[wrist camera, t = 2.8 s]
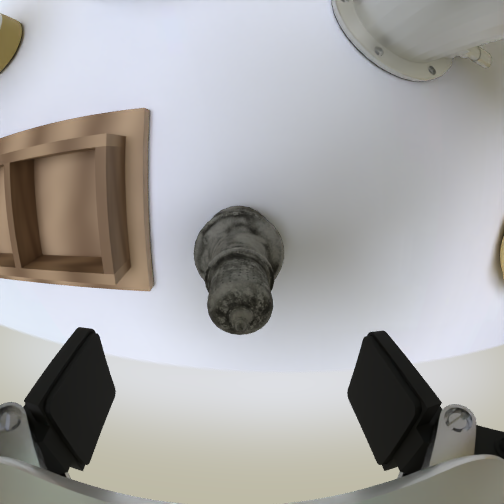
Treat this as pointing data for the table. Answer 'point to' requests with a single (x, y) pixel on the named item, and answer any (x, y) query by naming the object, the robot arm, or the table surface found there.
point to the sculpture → (502, 256)
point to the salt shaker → (239, 268)
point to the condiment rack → (78, 203)
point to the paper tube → (8, 39)
